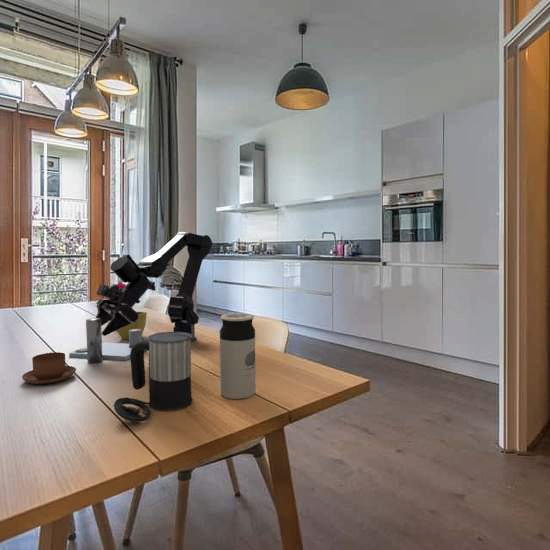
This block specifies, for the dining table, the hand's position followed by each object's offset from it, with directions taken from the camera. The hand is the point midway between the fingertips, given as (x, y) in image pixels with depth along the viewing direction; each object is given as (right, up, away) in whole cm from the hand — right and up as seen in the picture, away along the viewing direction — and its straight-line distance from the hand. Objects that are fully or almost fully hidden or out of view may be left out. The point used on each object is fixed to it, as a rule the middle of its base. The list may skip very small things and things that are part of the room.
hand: (97, 332), depth 119 cm
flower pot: (-1, -6, +31) cm, 31 cm away
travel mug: (+43, -11, -26) cm, 51 cm away
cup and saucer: (-5, -10, -15) cm, 19 cm away
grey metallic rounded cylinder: (-1, -9, 0) cm, 9 cm away
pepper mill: (-11, -5, +47) cm, 49 cm away
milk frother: (+27, -11, -34) cm, 45 cm away
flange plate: (0, -8, +10) cm, 13 cm away
